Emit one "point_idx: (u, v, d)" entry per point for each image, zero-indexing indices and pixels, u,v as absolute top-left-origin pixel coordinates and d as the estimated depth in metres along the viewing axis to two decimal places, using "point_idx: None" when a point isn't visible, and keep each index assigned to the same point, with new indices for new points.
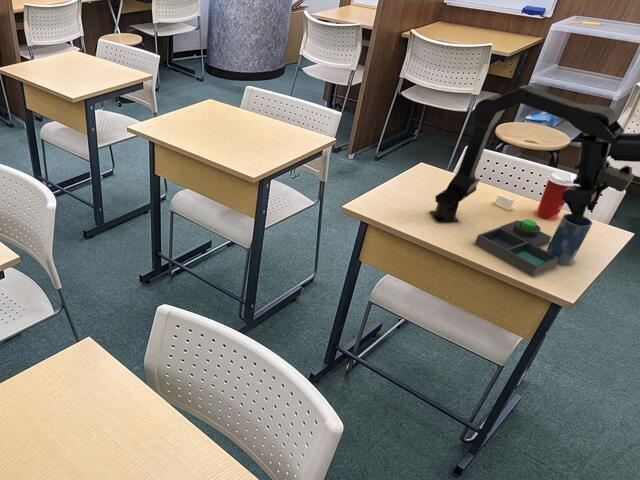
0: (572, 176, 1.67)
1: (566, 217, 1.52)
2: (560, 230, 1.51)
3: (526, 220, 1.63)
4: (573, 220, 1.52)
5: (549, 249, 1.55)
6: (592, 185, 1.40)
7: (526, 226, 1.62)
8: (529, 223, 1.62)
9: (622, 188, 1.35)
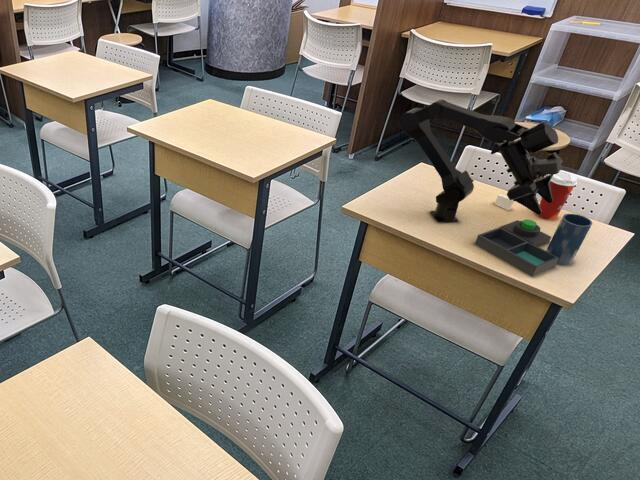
0: (572, 176, 1.67)
1: (566, 217, 1.52)
2: (560, 230, 1.51)
3: (526, 220, 1.63)
4: (573, 220, 1.52)
5: (549, 249, 1.55)
6: (530, 179, 1.51)
7: (526, 226, 1.62)
8: (529, 223, 1.62)
9: (555, 170, 1.46)
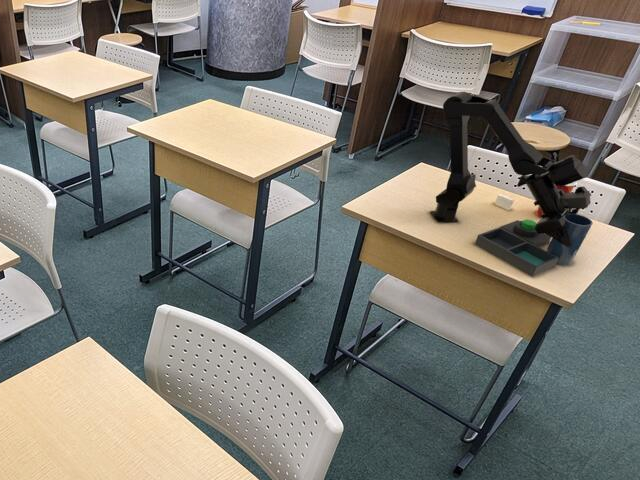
0: None
1: (566, 217, 1.52)
2: None
3: (526, 220, 1.63)
4: (573, 220, 1.52)
5: (549, 249, 1.55)
6: (558, 213, 1.49)
7: (526, 226, 1.62)
8: (529, 223, 1.62)
9: (584, 205, 1.44)
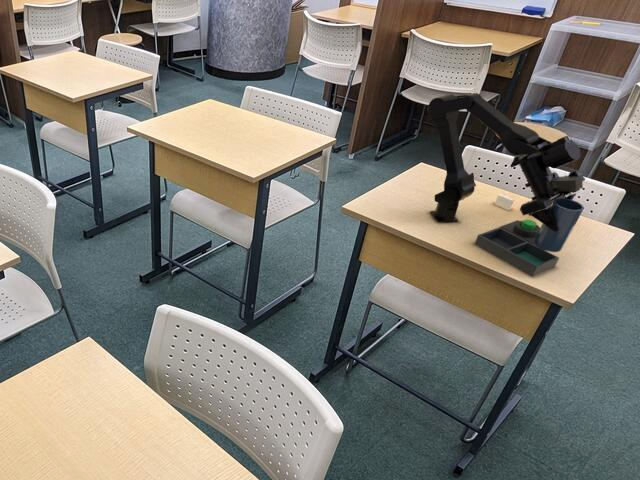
0: None
1: (559, 201, 1.47)
2: None
3: (526, 220, 1.63)
4: (566, 205, 1.47)
5: (538, 233, 1.51)
6: (548, 196, 1.45)
7: (526, 226, 1.62)
8: (529, 223, 1.62)
9: (573, 188, 1.40)
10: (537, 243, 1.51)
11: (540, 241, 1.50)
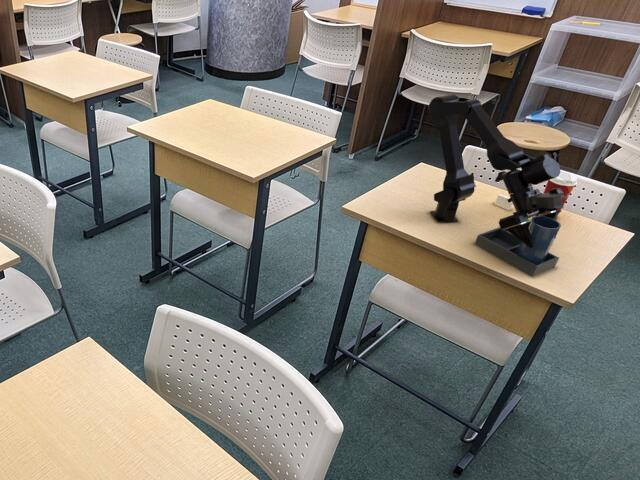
0: (572, 176, 1.67)
1: (538, 219, 1.50)
2: None
3: None
4: (546, 223, 1.50)
5: (518, 250, 1.54)
6: (527, 211, 1.48)
7: None
8: None
9: (550, 205, 1.43)
10: None
11: None
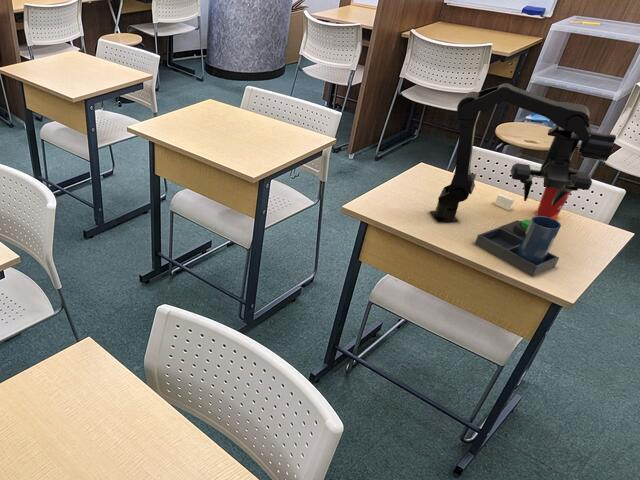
0: None
1: (538, 219, 1.50)
2: (527, 231, 1.49)
3: (526, 220, 1.63)
4: (546, 223, 1.50)
5: (518, 250, 1.54)
6: None
7: (526, 226, 1.62)
8: (529, 223, 1.62)
9: (545, 183, 1.48)
10: None
11: None
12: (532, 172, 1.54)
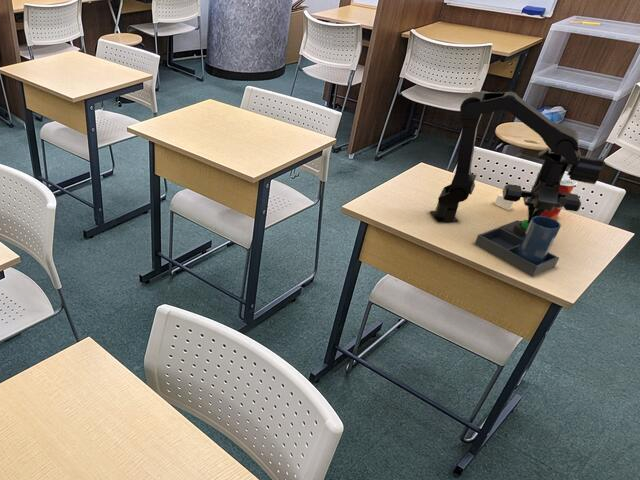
0: None
1: (538, 219, 1.50)
2: (527, 231, 1.49)
3: (526, 220, 1.63)
4: (546, 223, 1.50)
5: (518, 250, 1.54)
6: None
7: (526, 226, 1.62)
8: (529, 223, 1.62)
9: (535, 205, 1.52)
10: None
11: None
12: (523, 193, 1.58)
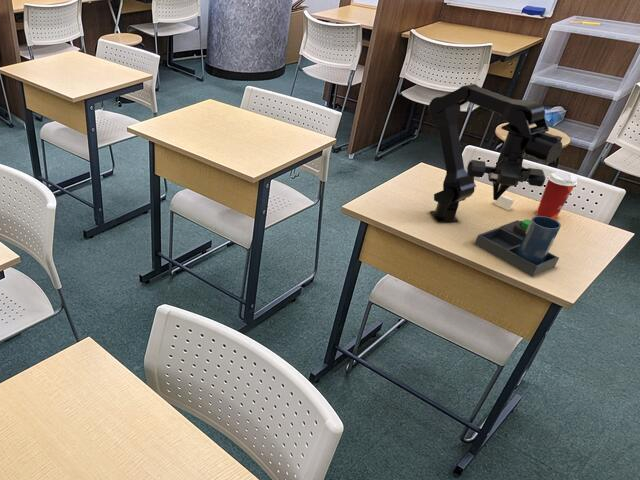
0: (572, 176, 1.67)
1: (538, 219, 1.50)
2: (527, 231, 1.49)
3: (526, 220, 1.63)
4: (546, 223, 1.50)
5: (518, 250, 1.54)
6: None
7: (526, 226, 1.62)
8: (529, 223, 1.62)
9: (498, 180, 1.48)
10: None
11: None
12: (487, 169, 1.54)
